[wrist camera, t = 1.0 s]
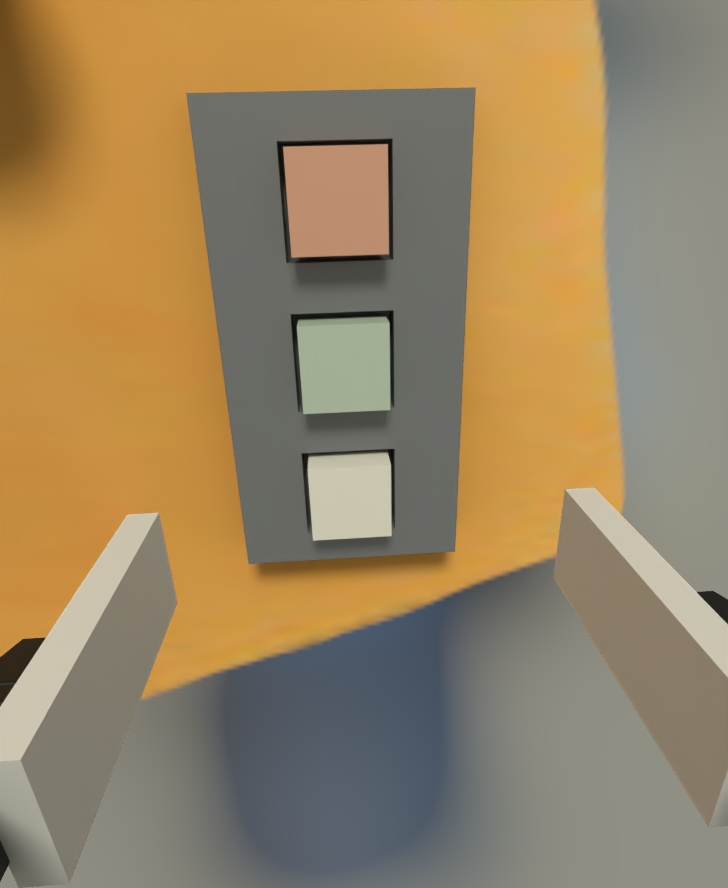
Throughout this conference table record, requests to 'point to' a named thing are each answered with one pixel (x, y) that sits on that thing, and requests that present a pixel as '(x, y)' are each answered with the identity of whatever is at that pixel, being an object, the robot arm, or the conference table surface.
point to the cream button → (350, 495)
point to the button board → (339, 305)
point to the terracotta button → (337, 200)
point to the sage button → (344, 364)
